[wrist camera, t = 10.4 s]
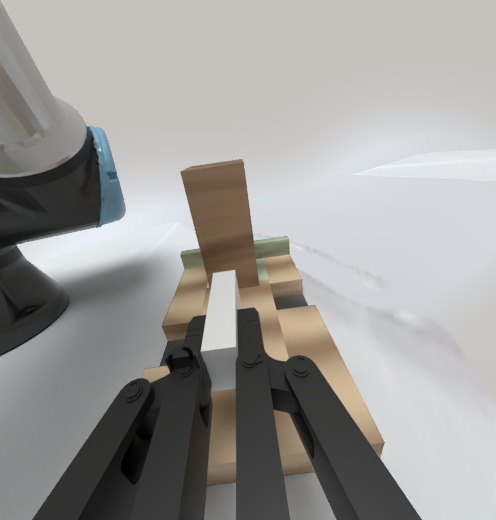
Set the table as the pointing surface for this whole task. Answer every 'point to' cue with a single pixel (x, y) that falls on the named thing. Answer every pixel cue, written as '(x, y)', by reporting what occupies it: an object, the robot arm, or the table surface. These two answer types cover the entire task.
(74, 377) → the table surface
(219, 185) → the walnut block
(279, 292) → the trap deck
